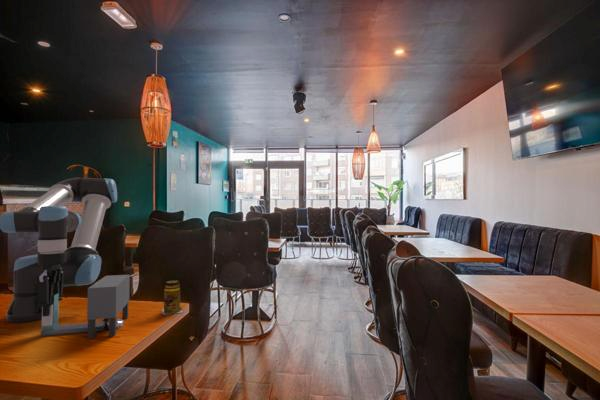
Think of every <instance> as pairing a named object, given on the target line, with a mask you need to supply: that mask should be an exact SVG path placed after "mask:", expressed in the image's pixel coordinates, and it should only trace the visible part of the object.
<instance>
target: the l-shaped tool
mask: <svg viewBox="0 0 600 400" xmlns="http://www.w3.org/2000/svg"><path fill="white" fill-rule="evenodd" d="M58 299H59V293H53V295H52V304H51V305H53V325H50V326H42V325H41V328H42V330H40V337H45V336H46V337H47V336H57V335H68V334H79V333H88V322H80V323H79V322H77V323H66V324H59V312H58ZM108 321H109V320H105V321H104V320H102V321H95V332H100V331H101V332H102V331H105V330H106V329H107V322H108Z"/></svg>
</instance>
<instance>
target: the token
mask: <svg viewBox="0 0 600 400" xmlns="http://www.w3.org/2000/svg"><path fill="white" fill-rule="evenodd" d="M107 321H108V322H107V328H106V329H107V330H109V320H107ZM124 323H125V322H124V319H122V318H116V330H117V329H121V328H123V326H124Z"/></svg>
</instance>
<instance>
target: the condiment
mask: <svg viewBox="0 0 600 400" xmlns="http://www.w3.org/2000/svg"><path fill="white" fill-rule="evenodd" d="M164 284H165V286H164V287H165V288H164V289H163V308H161V310H162V316H167V315H174V314H181V313H183V308H182V305H181V288H180V281H179V280H166V282H165V283H164Z"/></svg>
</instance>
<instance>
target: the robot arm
mask: <svg viewBox="0 0 600 400" xmlns="http://www.w3.org/2000/svg"><path fill="white" fill-rule="evenodd" d="M117 187H118V186H117V184H116V181H115V180H114V179H112V178H105V177H104V178H100V177H99V178H97V177H96V178H95V177H72V178H67V179H65V180H62V181H59V182H57V183H55V184H53V185H51V187H49V189H48V190H47V192H46V193H44V194H43V195H41V196H39V197H38V198H37V199H35V200H33V201H32V202H30V203H29V204H27V205H26V206H25V207H23V208H21V209H20V210H18V211H17V210H16V211H15V210H12V211H5V212H3V213H2V214H1V215H0V230H1V231H2V232H3V233H5V234H6V233H9V234H13V233H14V234H23V233H24V234H29V233H35V234H36V233H37V234H38V235H37V237H38V238H37V242H36V245H37V252H38V253H37V254H33V255H32V254H31V255H27V256H23V257H19V258H17V259H16V260H15V262H14V265H13V266H14V267H13V271H12V272H13V292H12V293H13V295H12V296H13V298H12V300H11V302H10V305H9V307H8V310H7V311H6V315H5V316H6V317H5V320H6V322H7V323H14V324H17V323H19V324H20V323H27V322H33V321H39V320H41V327H42V326H50V325H53V305H51V304H52V295H53V293H59V299H58V313H59V311H60V309H59V308H60V304H59V302H61V301H63V294H64V293H63V292H64V287H73V286H74V287H75V286H77V287H80V286H85V285H86V286H87V285H91V284H92V285H93V284H94V283H95V282H96V280H97V279H98V277H99V275H100V273H101V270H102V269H101V268H102V267H101V266H102V257H101V256H100V255H99V253H98V251H97V250H96V249H97V245H98V241H99V237H100V233H101V230H102V226H103V222H104V218H105V215H106V210H107V209H109V208H110V207H111V206H112V203H113V204H114V203H117V202H118V189H117ZM71 203H82V205H83V207H82V210H81V214H80V215H79V213H78V212H74V211H70V210H68V207H67V206H64V205H68V204H71ZM74 231H75V233H74V237H73V239H72V242H71V245H70V246H69V247H68V233H72V232H74Z"/></svg>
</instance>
